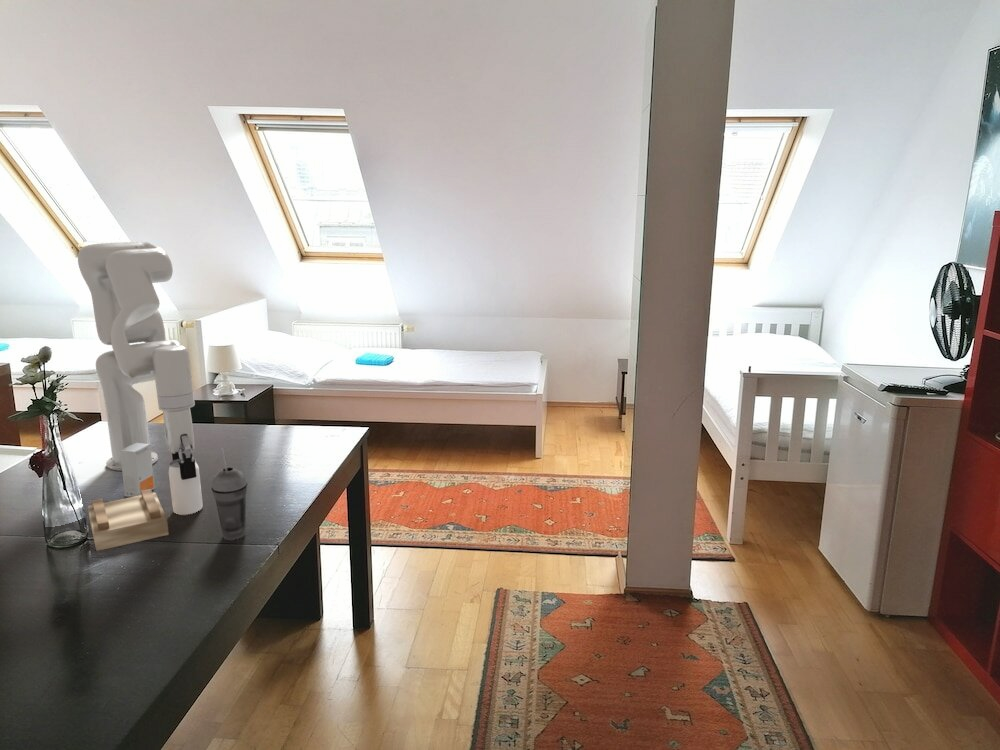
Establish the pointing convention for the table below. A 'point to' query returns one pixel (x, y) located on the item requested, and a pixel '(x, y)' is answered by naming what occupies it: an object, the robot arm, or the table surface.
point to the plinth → (127, 520)
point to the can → (184, 491)
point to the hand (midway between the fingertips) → (184, 471)
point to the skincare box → (137, 469)
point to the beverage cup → (230, 500)
